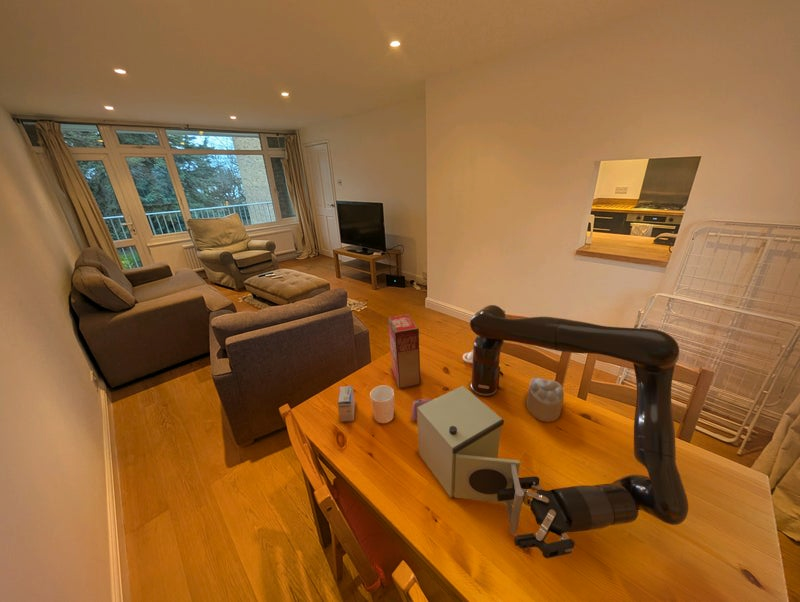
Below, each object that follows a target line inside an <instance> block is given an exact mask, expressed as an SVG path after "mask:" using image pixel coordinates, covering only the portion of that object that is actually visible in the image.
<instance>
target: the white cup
mask: <svg viewBox="0 0 800 602" xmlns="http://www.w3.org/2000/svg"><path fill="white" fill-rule="evenodd" d="M369 397H370V402H371V408H372V414H373V417H374V420H375V421H376V422H377V423H379V424H388V423H389V422H392V420H393V419H394V417H395V416H394V415H395V391H394V389H393V387H391V386H390V385H387V384H386V385H385V384H382V385H377V386H375V387H374V388H372V389H371V390H370V393H369Z"/></svg>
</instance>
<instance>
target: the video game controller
mask: <svg viewBox="0 0 800 602" xmlns="http://www.w3.org/2000/svg"><path fill="white" fill-rule="evenodd" d="M431 400H433V399H432V398H420V399H416V400H414V401H413V403H412V406H411V420H412V422H413V423H414V422H415V421H416V419H417V407H419V406H421V405H423V404H425V403H427V402H429V401H431Z"/></svg>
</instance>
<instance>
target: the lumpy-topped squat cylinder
mask: <svg viewBox="0 0 800 602" xmlns="http://www.w3.org/2000/svg"><path fill="white" fill-rule="evenodd" d="M564 398H565V392H564V388H563V386H562V384H561V383H559V382H558V381H556V380H552V379H545V378H542V377H533V378H531V380H530V382H529V385H528V392H527V399H526V407H527V409H528V411H529V412H530V414H531V415H532V416H533V417H535V418H536V419H537V420H539V421H542V422H545V423H547V422H548V423H550V422H553V421H555V420H557V419H558V418H559V417H560V415H561V412H562V407H563V404H564Z"/></svg>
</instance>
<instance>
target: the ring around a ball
mask: <svg viewBox="0 0 800 602" xmlns="http://www.w3.org/2000/svg"><path fill="white" fill-rule="evenodd" d="M462 360H463V361H464V362H465V363H467V364H471V365H472V363H473V349H471V351H470V352H465V353H464V354H463V355H462Z"/></svg>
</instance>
